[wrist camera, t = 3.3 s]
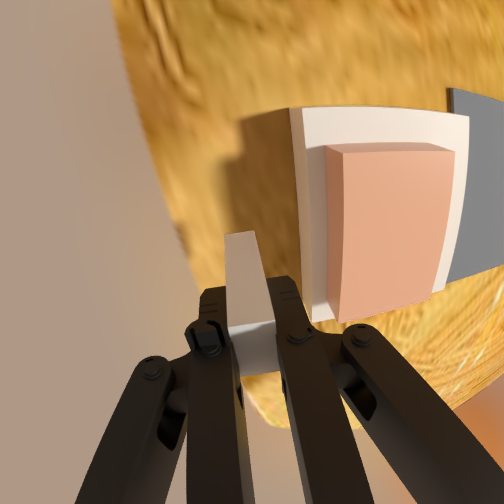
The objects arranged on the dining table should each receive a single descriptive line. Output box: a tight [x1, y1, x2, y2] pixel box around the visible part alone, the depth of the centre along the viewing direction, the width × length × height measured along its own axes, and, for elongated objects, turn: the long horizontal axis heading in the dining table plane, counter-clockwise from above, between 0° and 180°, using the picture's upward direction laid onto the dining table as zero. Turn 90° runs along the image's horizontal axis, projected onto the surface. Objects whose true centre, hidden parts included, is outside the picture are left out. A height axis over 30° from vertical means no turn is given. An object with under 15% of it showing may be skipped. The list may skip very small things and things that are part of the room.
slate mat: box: [446, 88, 504, 284], centre depth 19 cm, size 18×13×1 cm
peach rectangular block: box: [324, 142, 455, 324], centre depth 15 cm, size 10×7×2 cm
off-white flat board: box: [289, 105, 469, 323], centre depth 17 cm, size 14×12×3 cm
